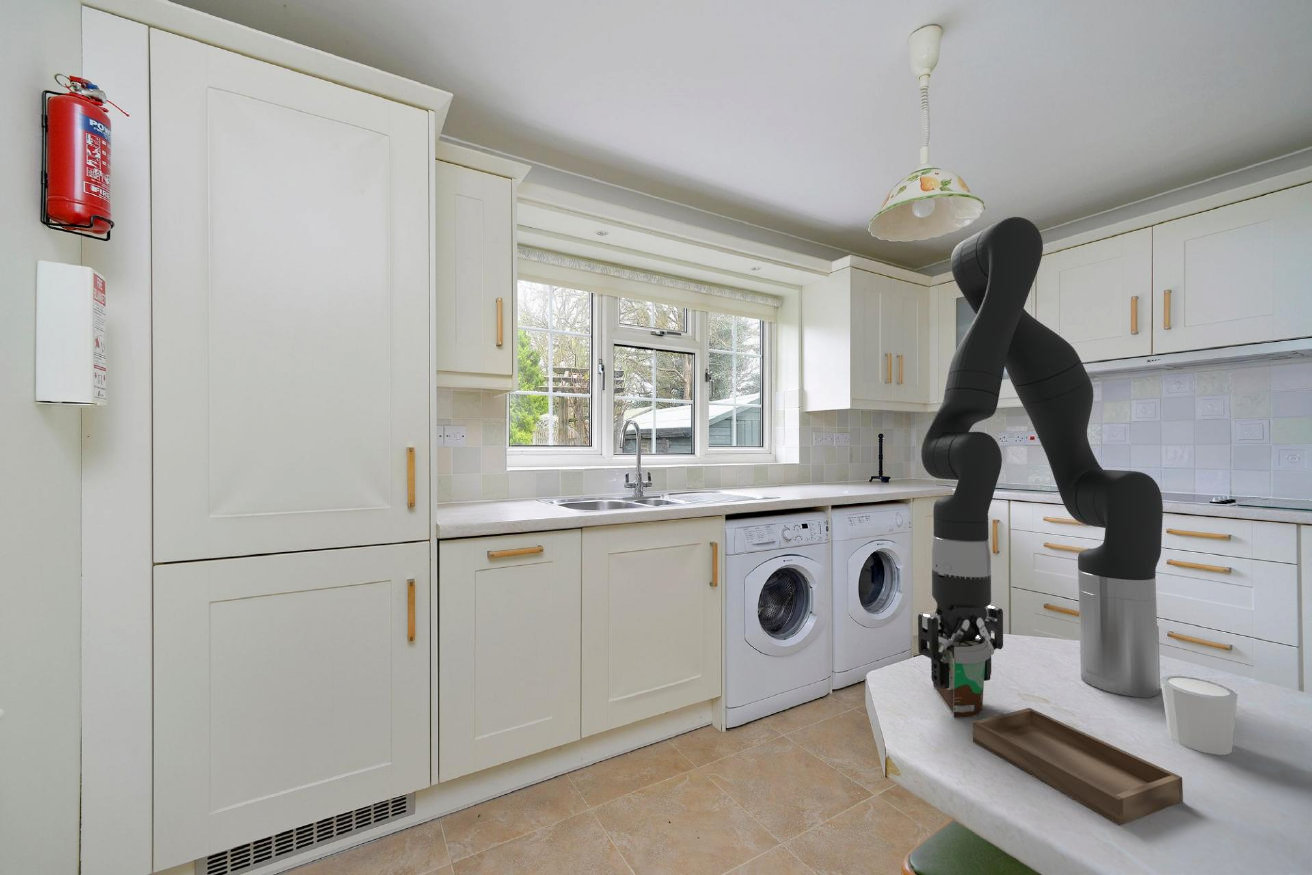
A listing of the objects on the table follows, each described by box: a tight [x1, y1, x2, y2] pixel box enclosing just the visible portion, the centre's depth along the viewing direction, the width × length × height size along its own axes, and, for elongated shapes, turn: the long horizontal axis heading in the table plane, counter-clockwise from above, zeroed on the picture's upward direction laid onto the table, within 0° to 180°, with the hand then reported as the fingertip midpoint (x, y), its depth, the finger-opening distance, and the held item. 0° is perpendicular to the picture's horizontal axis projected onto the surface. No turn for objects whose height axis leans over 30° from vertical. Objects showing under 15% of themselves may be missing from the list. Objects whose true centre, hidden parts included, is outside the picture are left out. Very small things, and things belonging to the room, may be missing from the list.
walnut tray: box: [972, 707, 1184, 826], centre depth 63 cm, size 10×16×2 cm, turn 20°
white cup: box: [1160, 675, 1239, 756], centre depth 68 cm, size 7×7×7 cm
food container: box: [932, 634, 992, 718], centre depth 79 cm, size 12×6×10 cm, turn 168°
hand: (961, 682), depth 79 cm, fingers closed on food container, 7 cm apart
